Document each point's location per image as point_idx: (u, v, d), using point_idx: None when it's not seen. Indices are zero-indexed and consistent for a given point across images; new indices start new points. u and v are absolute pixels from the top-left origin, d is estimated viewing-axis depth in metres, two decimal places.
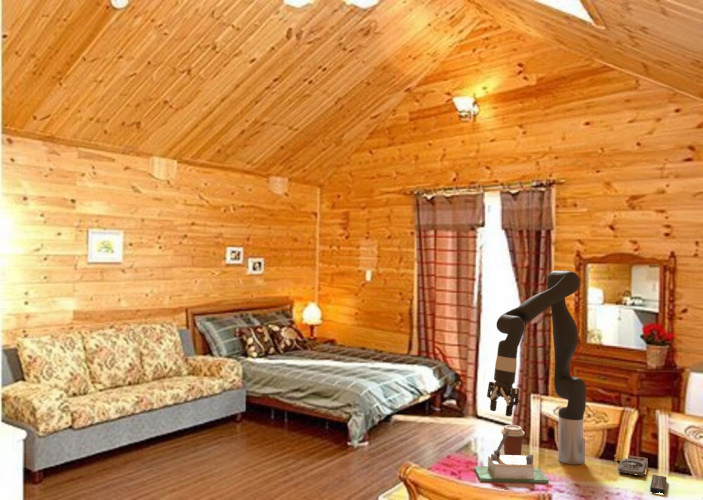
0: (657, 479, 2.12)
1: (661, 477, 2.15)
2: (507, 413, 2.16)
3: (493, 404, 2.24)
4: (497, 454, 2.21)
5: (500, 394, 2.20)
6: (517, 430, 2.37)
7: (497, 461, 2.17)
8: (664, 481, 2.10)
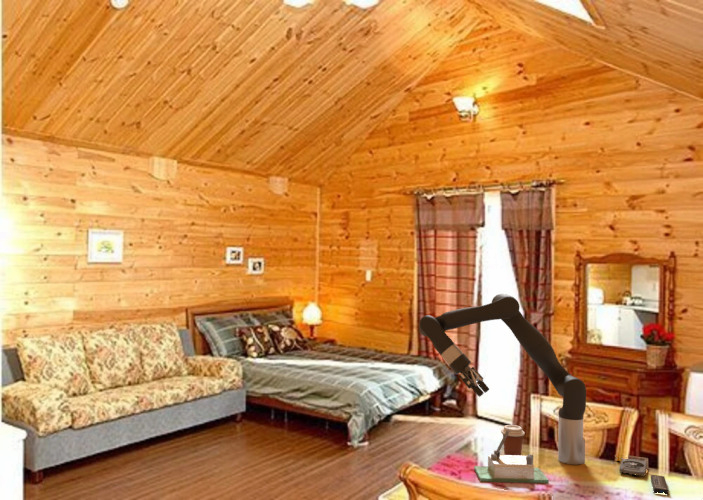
0: (657, 479, 2.12)
1: (659, 476, 2.15)
2: (477, 394, 2.20)
3: (482, 386, 2.28)
4: (497, 454, 2.21)
5: None
6: (517, 430, 2.37)
7: (497, 461, 2.17)
8: (664, 481, 2.11)
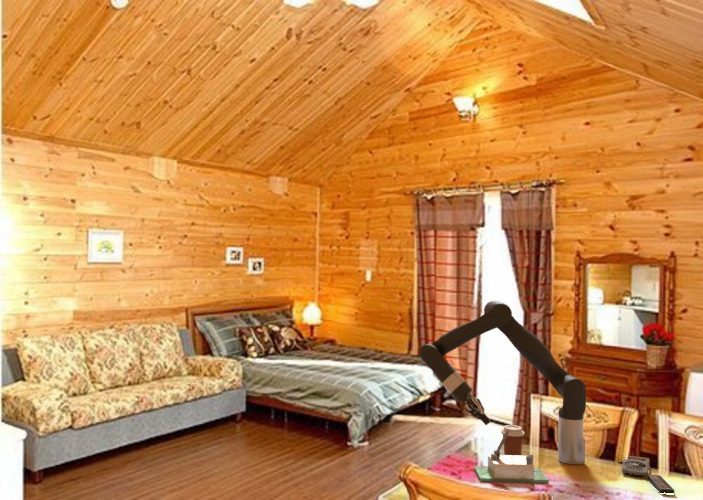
0: (656, 479, 2.12)
1: (656, 476, 2.16)
2: (484, 423, 2.23)
3: None
4: (497, 454, 2.21)
5: None
6: (517, 430, 2.37)
7: (497, 461, 2.17)
8: (664, 480, 2.11)
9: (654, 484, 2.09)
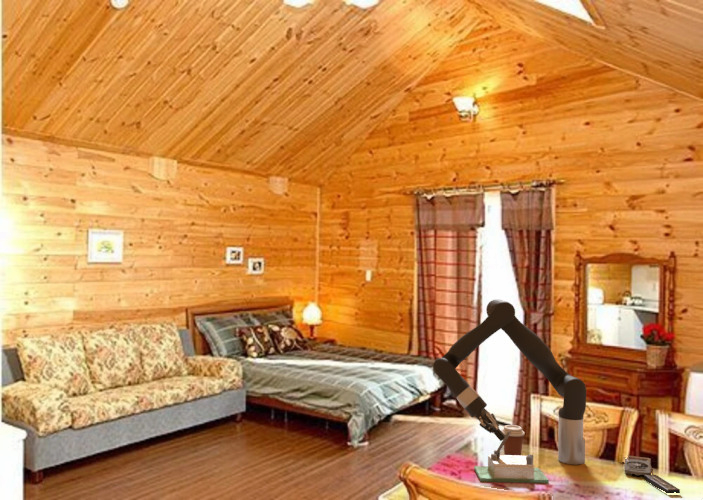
0: (656, 479, 2.12)
1: (653, 475, 2.16)
2: (499, 438, 2.20)
3: None
4: (497, 454, 2.21)
5: None
6: (517, 430, 2.37)
7: (497, 461, 2.17)
8: (663, 480, 2.12)
9: (656, 485, 2.09)
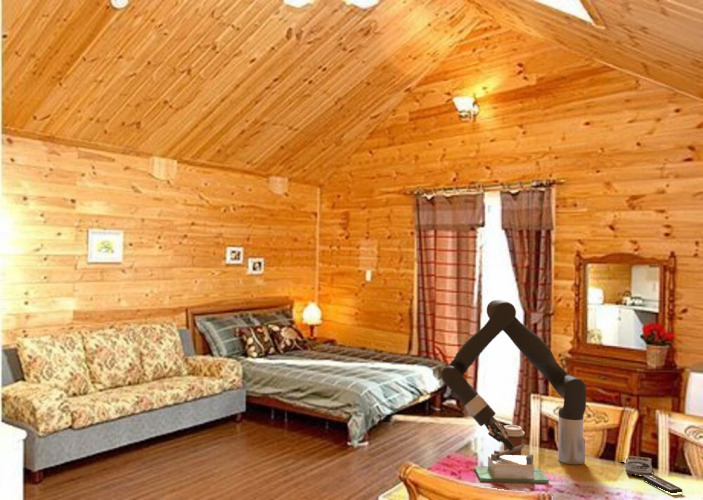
0: (655, 479, 2.12)
1: (651, 475, 2.16)
2: (508, 448, 2.19)
3: None
4: None
5: None
6: (517, 430, 2.37)
7: (497, 461, 2.17)
8: None
9: (658, 485, 2.09)
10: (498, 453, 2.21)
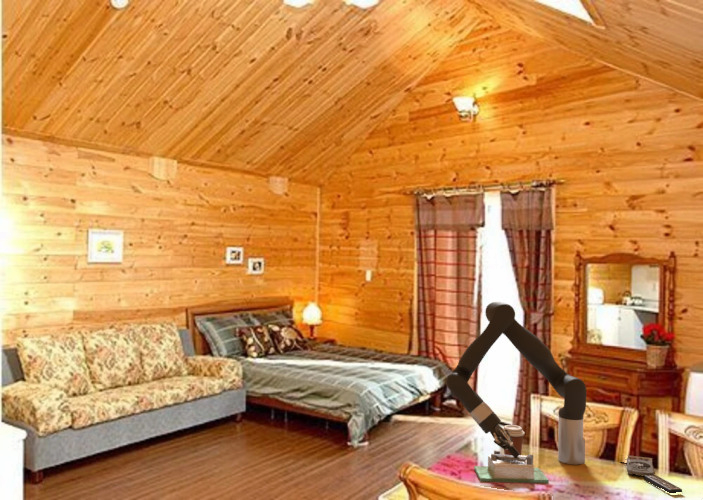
0: (656, 479, 2.12)
1: (653, 475, 2.16)
2: None
3: None
4: None
5: None
6: (517, 430, 2.37)
7: (497, 461, 2.17)
8: (664, 480, 2.12)
9: (658, 485, 2.09)
10: (499, 455, 2.21)
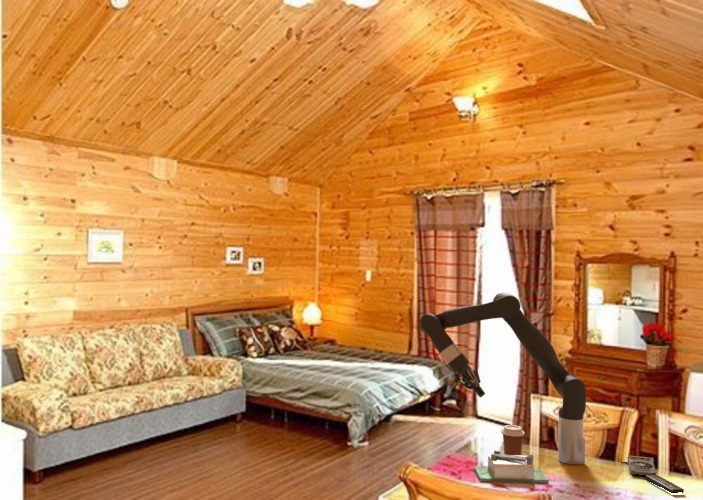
0: (658, 479, 2.12)
1: (654, 475, 2.16)
2: None
3: None
4: None
5: None
6: (517, 430, 2.37)
7: (497, 461, 2.17)
8: (665, 479, 2.12)
9: (659, 485, 2.09)
10: (499, 455, 2.21)
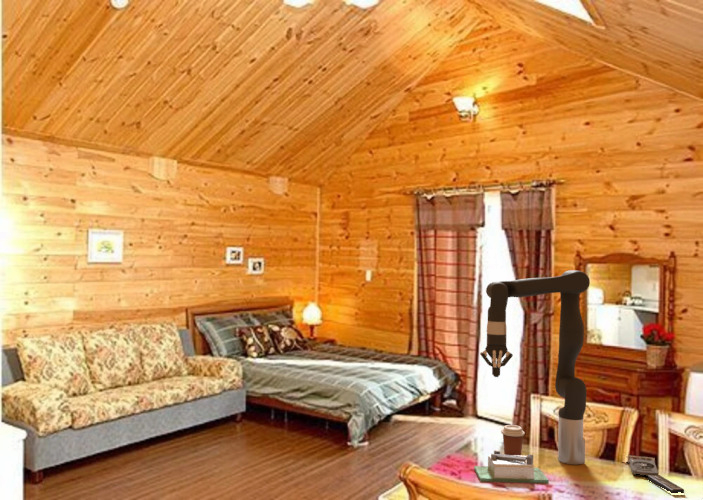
0: (659, 479, 2.12)
1: (656, 475, 2.16)
2: None
3: None
4: None
5: None
6: (517, 430, 2.37)
7: (497, 461, 2.17)
8: (667, 480, 2.12)
9: (660, 485, 2.09)
10: (499, 455, 2.21)
